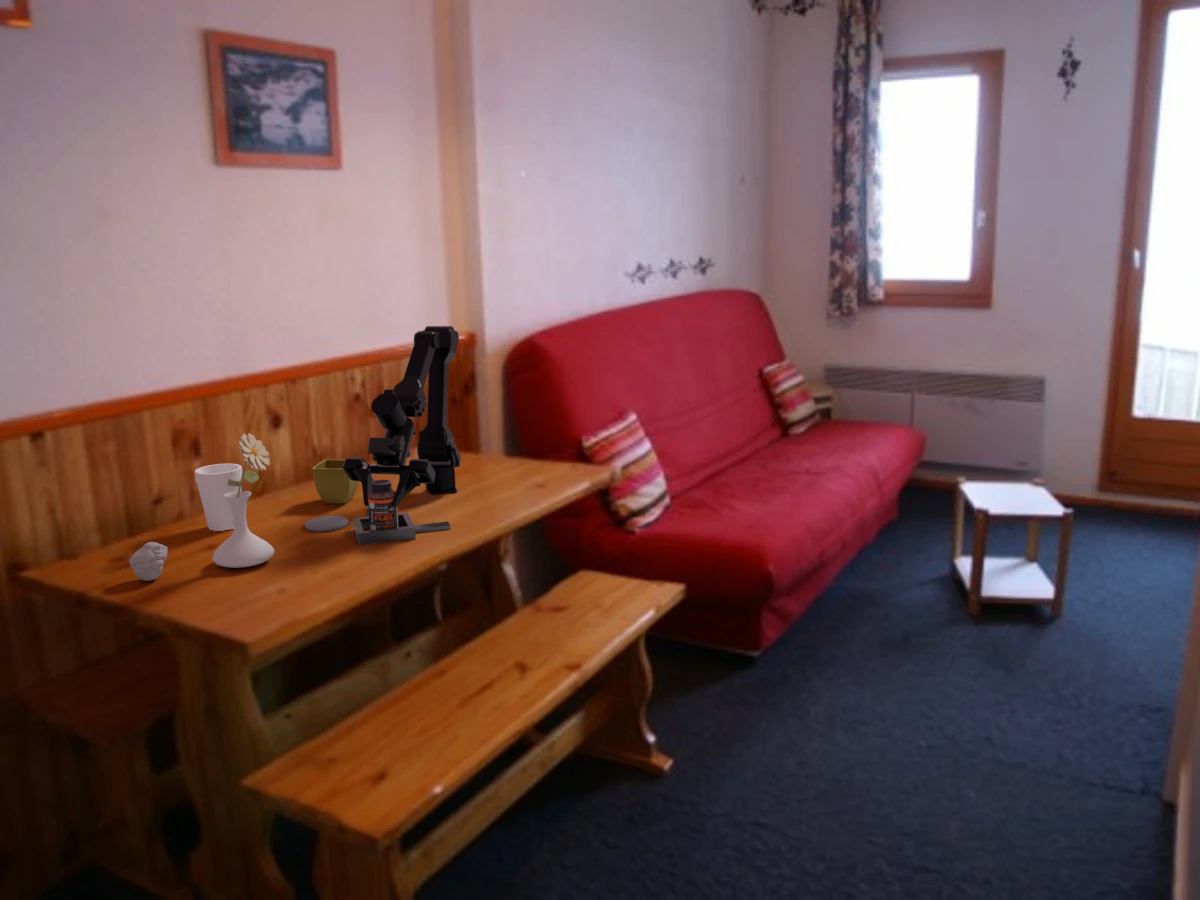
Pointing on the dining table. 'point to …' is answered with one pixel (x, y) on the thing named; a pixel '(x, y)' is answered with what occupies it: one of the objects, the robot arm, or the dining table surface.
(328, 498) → the flower pot
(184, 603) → the dining table surface
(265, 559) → the flower in vase
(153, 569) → the lumpy white ball
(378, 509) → the supplement bottle
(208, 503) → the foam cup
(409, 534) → the square pan with handle
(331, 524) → the coaster
